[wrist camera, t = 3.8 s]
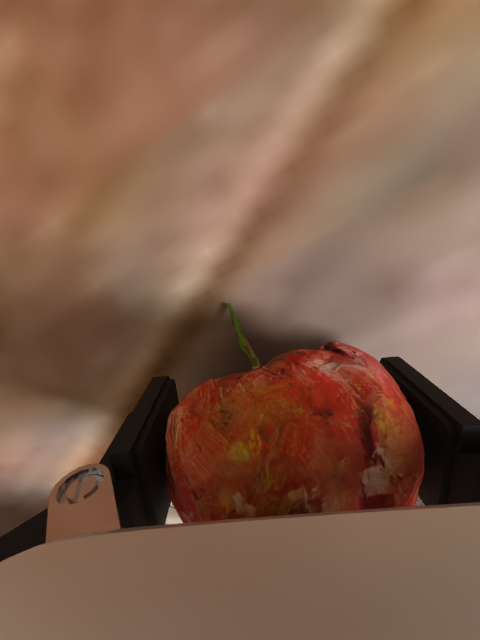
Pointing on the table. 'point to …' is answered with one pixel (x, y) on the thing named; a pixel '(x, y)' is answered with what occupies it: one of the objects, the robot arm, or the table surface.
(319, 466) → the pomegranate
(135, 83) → the table surface
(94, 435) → the table surface
